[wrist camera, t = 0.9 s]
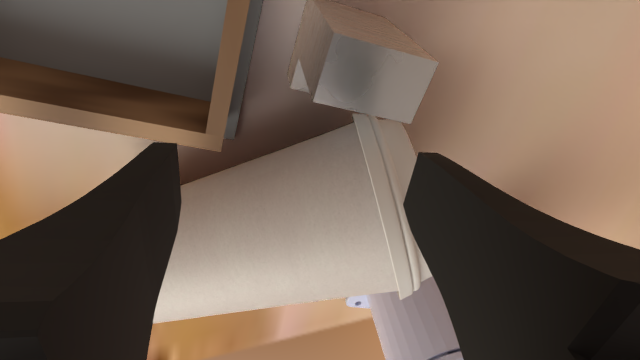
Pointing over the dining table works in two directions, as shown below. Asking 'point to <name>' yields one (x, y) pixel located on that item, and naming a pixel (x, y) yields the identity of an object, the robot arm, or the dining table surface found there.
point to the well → (128, 97)
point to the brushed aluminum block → (358, 62)
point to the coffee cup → (297, 227)
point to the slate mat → (130, 42)
